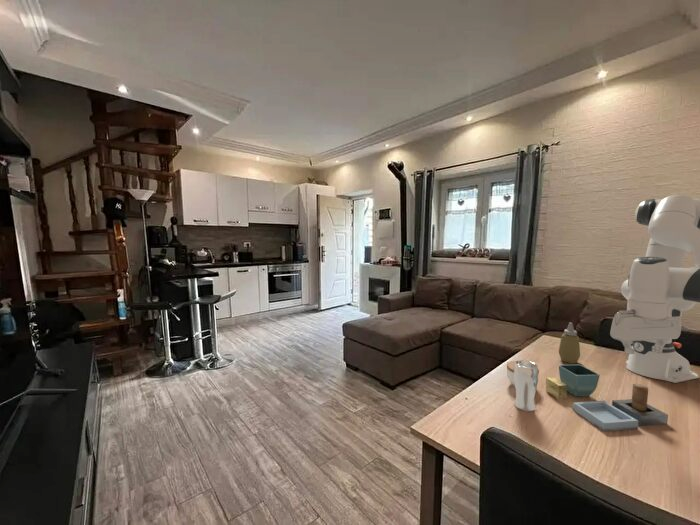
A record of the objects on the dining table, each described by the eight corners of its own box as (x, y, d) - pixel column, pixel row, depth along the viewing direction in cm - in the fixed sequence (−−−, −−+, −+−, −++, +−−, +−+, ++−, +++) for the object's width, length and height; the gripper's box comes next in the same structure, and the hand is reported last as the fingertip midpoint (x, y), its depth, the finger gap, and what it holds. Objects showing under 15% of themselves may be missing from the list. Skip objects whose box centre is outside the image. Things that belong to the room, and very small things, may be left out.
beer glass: (533, 402, 103) (535, 361, 102) (539, 414, 97) (541, 369, 95) (511, 399, 106) (512, 358, 104) (515, 410, 99) (516, 367, 98)
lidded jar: (538, 396, 107) (539, 371, 106) (504, 388, 113) (505, 364, 112) (538, 383, 116) (539, 360, 116) (507, 377, 122) (508, 355, 121)
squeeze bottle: (577, 359, 138) (579, 321, 137) (582, 366, 131) (584, 326, 130) (556, 356, 142) (558, 319, 140) (560, 363, 134) (562, 324, 133)
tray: (603, 407, 100) (603, 400, 99) (637, 428, 89) (638, 420, 89) (572, 409, 99) (573, 402, 99) (603, 431, 88) (604, 423, 88)
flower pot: (578, 386, 114) (580, 364, 113) (599, 399, 105) (600, 374, 104) (556, 387, 113) (557, 364, 112) (575, 400, 104) (576, 375, 104)
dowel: (637, 412, 97) (639, 383, 96) (649, 419, 93) (651, 388, 92) (627, 413, 96) (629, 383, 95) (639, 419, 93) (641, 389, 92)
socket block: (636, 407, 100) (637, 398, 99) (667, 424, 91) (668, 414, 90) (611, 409, 99) (612, 400, 99) (640, 426, 90) (641, 416, 90)
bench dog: (553, 389, 111) (553, 377, 111) (566, 398, 106) (566, 385, 105) (545, 390, 111) (546, 377, 111) (558, 399, 105) (558, 385, 105)
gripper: (625, 313, 88) (622, 358, 89) (688, 311, 89) (684, 355, 91) (605, 308, 94) (603, 350, 95) (664, 306, 96) (661, 347, 97)
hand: (643, 353), depth 93 cm, fingers open, 8 cm apart
